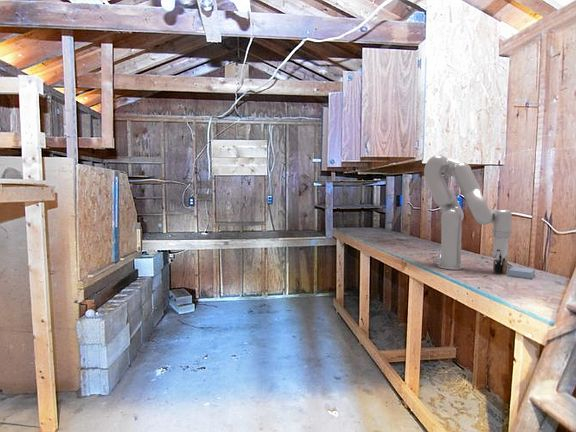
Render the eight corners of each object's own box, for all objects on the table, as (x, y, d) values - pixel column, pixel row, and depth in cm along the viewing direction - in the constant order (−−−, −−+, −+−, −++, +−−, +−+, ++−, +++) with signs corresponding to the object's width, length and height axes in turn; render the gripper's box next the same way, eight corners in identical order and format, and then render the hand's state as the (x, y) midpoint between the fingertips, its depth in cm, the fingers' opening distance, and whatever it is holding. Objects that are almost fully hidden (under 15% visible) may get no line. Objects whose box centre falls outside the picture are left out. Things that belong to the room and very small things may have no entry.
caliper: (495, 263, 194) (495, 252, 194) (497, 263, 194) (497, 252, 194) (518, 272, 174) (519, 259, 173) (520, 272, 174) (521, 259, 173)
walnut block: (493, 272, 172) (493, 260, 171) (495, 270, 175) (495, 259, 175) (504, 274, 168) (505, 262, 168) (507, 272, 172) (507, 260, 171)
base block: (507, 276, 165) (507, 269, 164) (511, 272, 171) (511, 266, 171) (531, 279, 158) (532, 272, 158) (534, 275, 165) (535, 269, 165)
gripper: (496, 232, 179) (495, 267, 180) (488, 236, 167) (487, 273, 168) (514, 233, 174) (512, 269, 175) (506, 237, 162) (505, 275, 163)
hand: (500, 271), depth 172 cm, fingers closed on walnut block, 5 cm apart
